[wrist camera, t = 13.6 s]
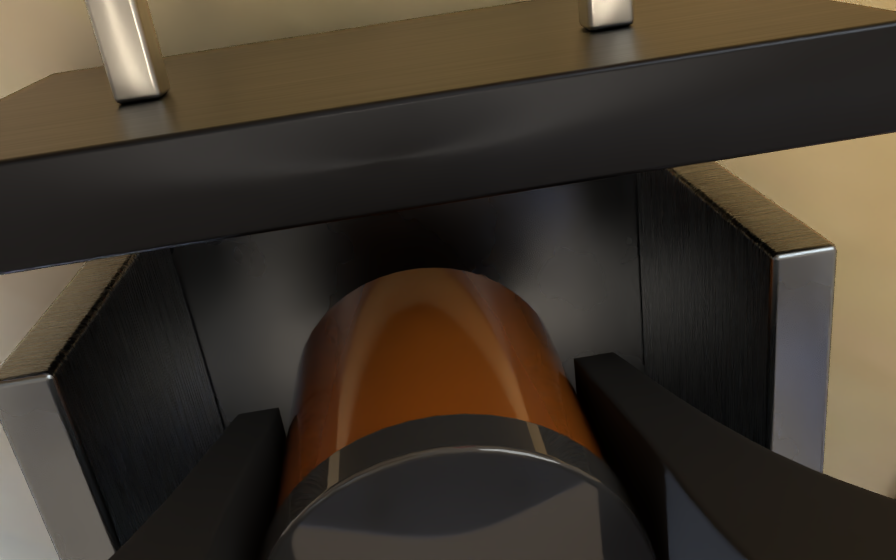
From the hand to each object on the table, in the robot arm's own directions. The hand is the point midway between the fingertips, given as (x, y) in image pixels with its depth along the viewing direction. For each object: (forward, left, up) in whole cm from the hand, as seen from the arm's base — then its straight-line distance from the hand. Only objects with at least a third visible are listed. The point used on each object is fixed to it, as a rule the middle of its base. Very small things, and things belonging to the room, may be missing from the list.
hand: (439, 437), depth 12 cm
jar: (0, 0, -1) cm, 1 cm away
